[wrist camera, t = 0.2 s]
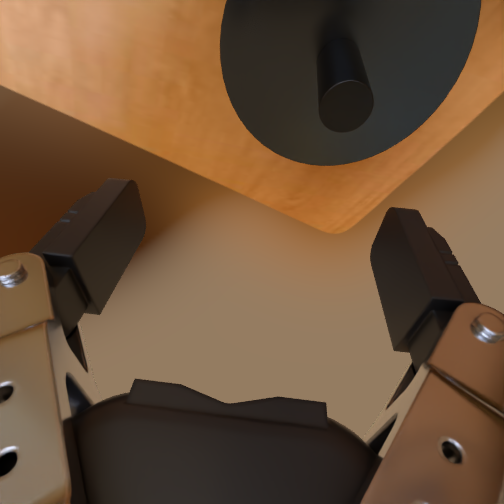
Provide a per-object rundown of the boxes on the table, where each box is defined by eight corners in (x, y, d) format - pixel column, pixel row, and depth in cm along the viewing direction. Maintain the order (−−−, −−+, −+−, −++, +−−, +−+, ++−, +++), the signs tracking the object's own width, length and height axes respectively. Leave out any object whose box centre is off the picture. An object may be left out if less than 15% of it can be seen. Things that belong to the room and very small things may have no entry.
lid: (282, -211, 12) (267, -265, 7) (543, -31, 14) (641, 5, 10) (200, 112, 22) (173, 168, 18) (362, 181, 25) (374, 243, 20)
